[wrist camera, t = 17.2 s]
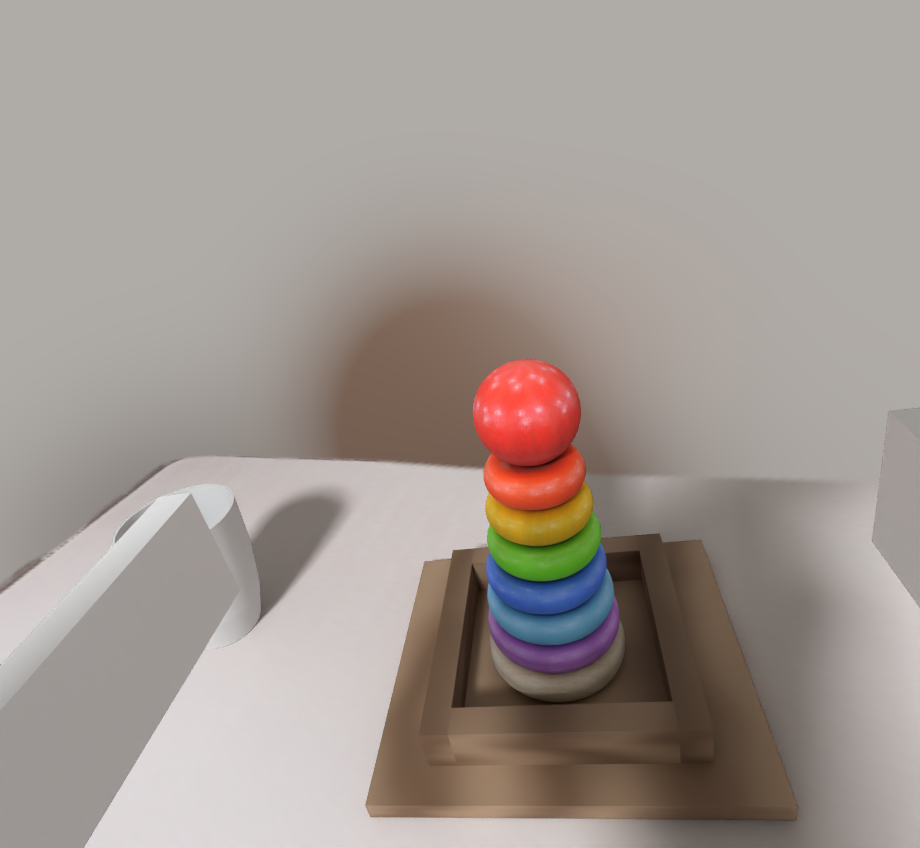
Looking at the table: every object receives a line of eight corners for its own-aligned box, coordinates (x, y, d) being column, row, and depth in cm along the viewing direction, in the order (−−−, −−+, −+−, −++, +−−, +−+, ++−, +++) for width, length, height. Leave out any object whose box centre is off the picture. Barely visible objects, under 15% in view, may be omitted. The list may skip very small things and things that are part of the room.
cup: (241, 573, 51) (194, 475, 46) (302, 602, 46) (257, 496, 41) (153, 642, 45) (90, 538, 41) (212, 683, 41) (148, 571, 36)
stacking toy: (507, 726, 32) (433, 422, 24) (482, 618, 39) (418, 355, 31) (649, 689, 33) (625, 376, 24) (599, 589, 40) (566, 320, 31)
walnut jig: (701, 550, 42) (700, 511, 41) (796, 819, 27) (801, 771, 25) (427, 571, 46) (417, 535, 45) (370, 816, 31) (351, 775, 29)
